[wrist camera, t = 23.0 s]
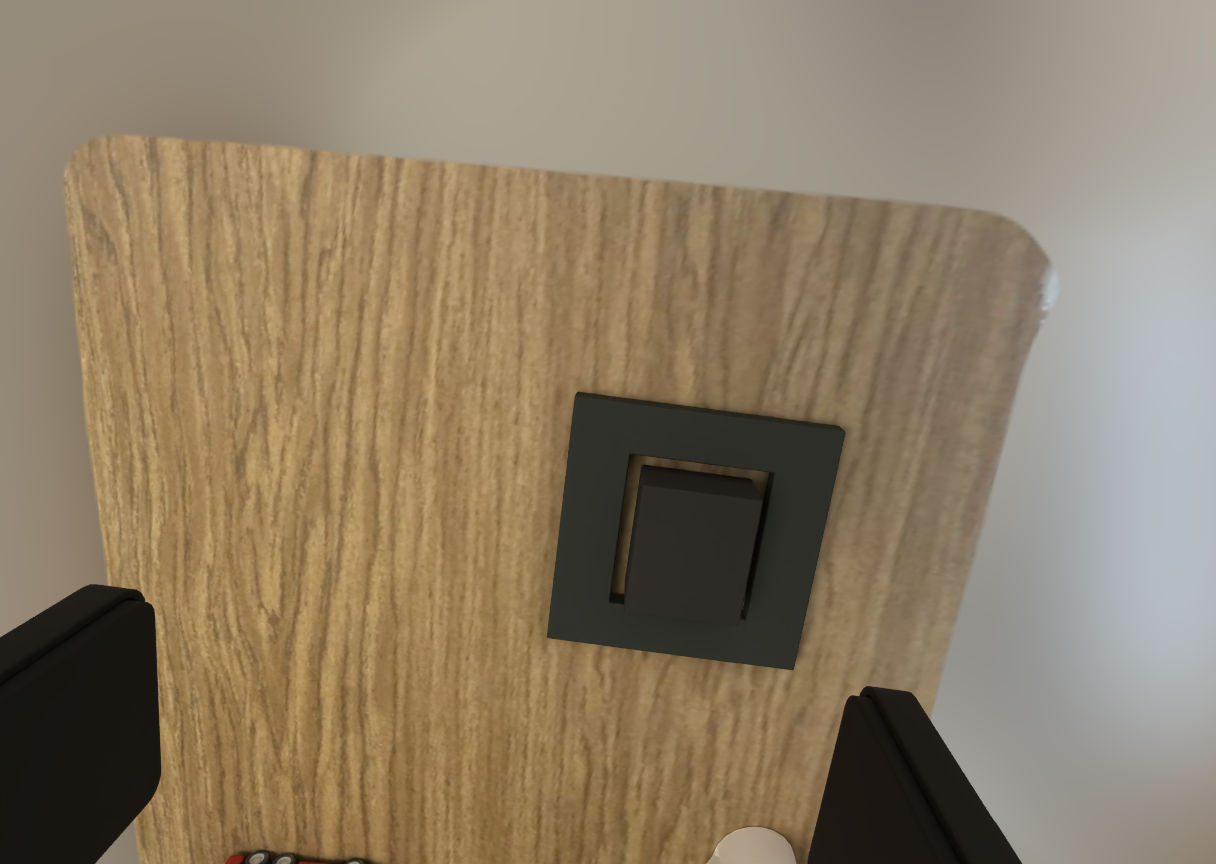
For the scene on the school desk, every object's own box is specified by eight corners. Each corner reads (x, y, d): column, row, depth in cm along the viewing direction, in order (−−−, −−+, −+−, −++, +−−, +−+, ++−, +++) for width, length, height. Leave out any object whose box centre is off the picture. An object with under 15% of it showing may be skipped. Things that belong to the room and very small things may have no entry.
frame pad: (576, 391, 37) (574, 395, 36) (839, 425, 37) (846, 431, 36) (549, 627, 40) (546, 638, 39) (789, 659, 40) (794, 671, 39)
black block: (641, 464, 38) (642, 485, 34) (751, 478, 38) (763, 500, 34) (624, 581, 40) (623, 612, 36) (729, 595, 40) (738, 627, 36)
